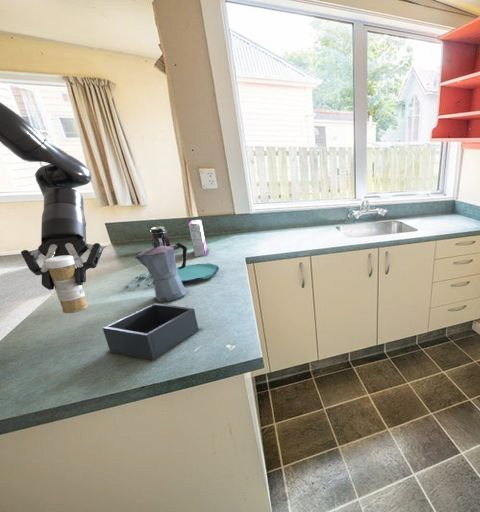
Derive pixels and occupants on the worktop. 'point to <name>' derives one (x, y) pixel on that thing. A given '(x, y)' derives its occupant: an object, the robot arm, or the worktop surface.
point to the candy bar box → (197, 237)
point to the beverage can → (160, 236)
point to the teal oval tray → (187, 273)
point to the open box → (151, 330)
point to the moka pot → (164, 270)
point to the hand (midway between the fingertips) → (64, 285)
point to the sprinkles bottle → (66, 283)
